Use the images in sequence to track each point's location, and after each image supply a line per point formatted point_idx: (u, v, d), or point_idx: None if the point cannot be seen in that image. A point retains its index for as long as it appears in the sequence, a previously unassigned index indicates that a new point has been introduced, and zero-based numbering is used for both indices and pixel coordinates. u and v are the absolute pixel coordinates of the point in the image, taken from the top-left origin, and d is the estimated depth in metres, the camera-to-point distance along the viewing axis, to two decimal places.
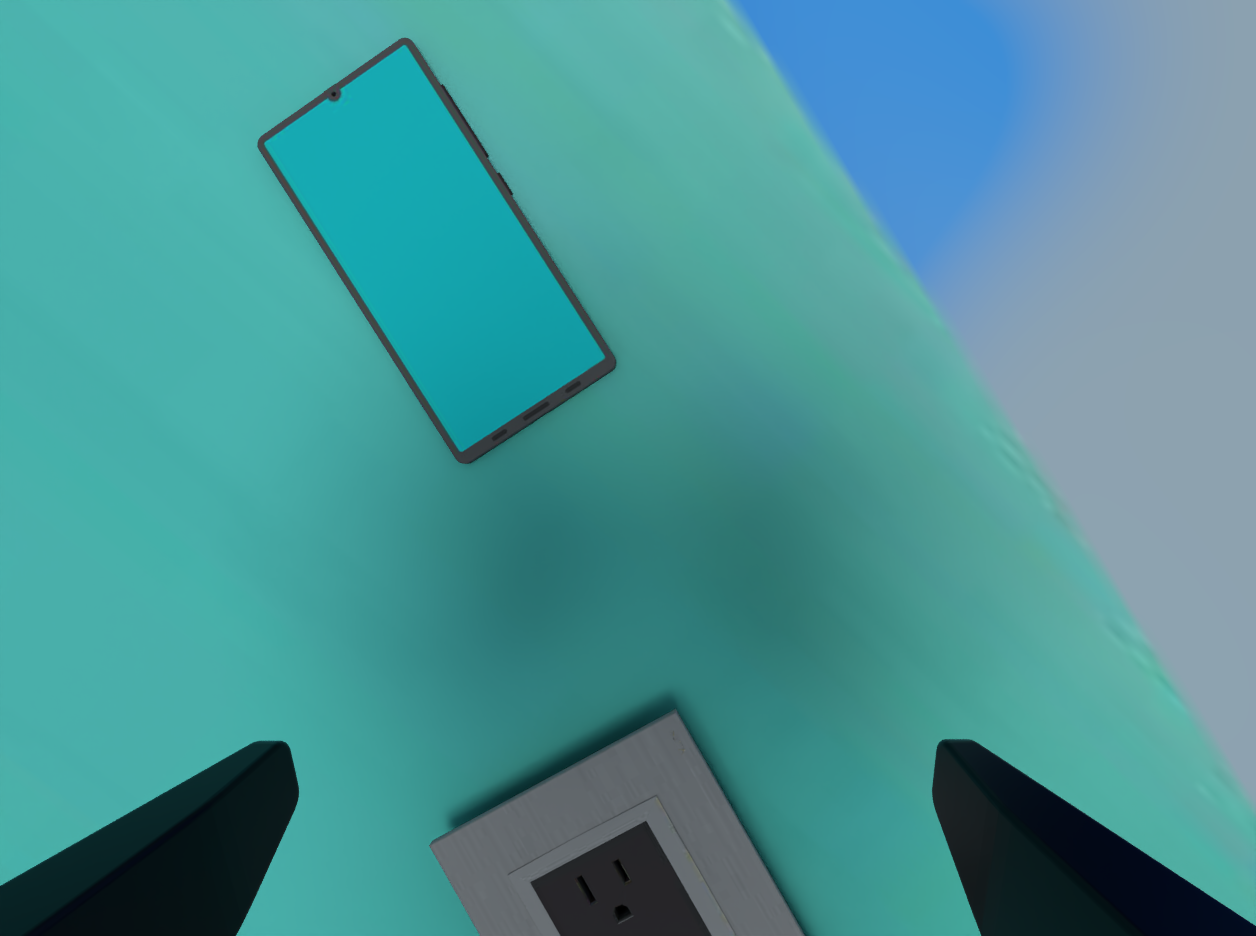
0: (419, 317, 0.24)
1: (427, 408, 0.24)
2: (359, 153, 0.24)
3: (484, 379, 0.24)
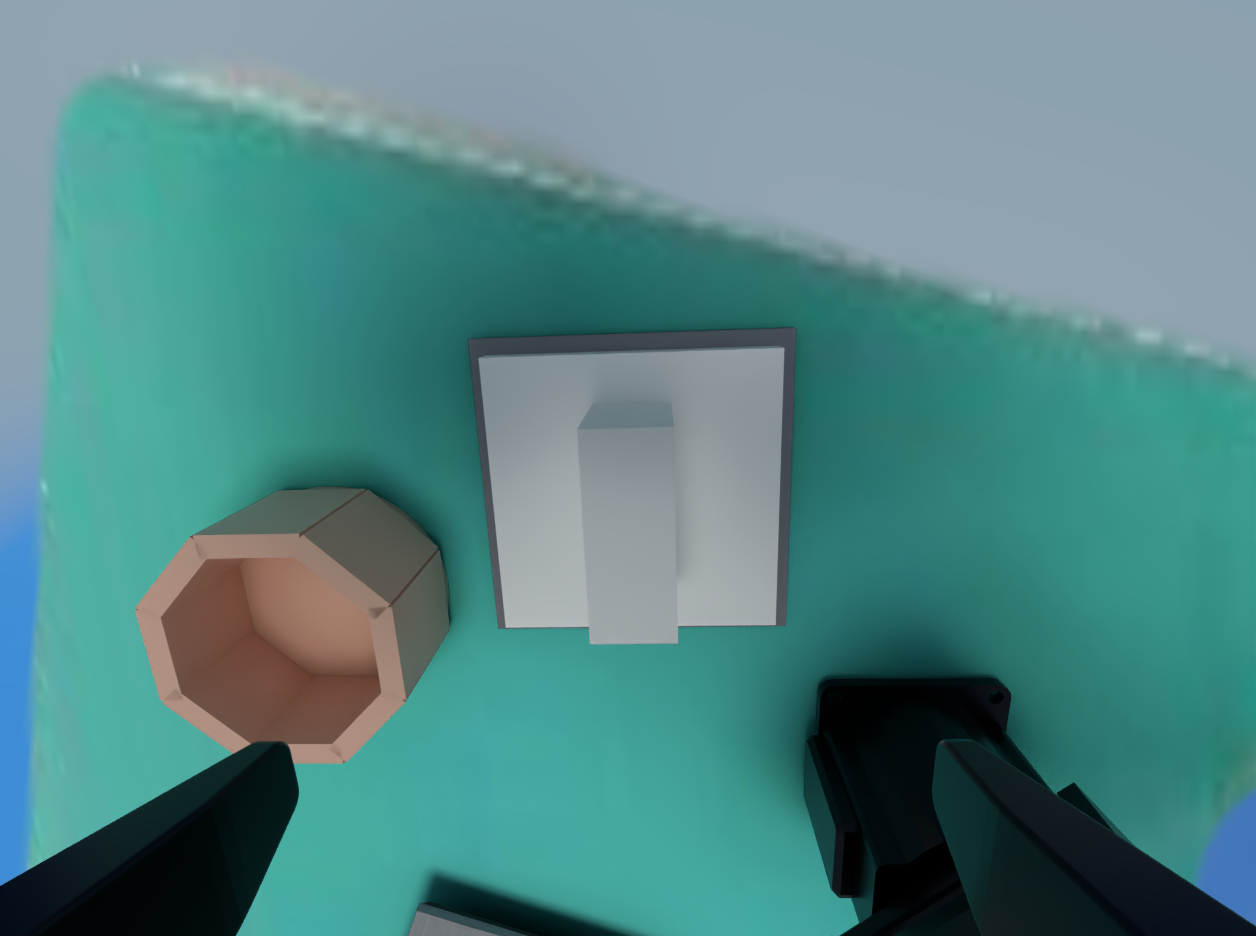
0: None
1: None
2: None
3: None
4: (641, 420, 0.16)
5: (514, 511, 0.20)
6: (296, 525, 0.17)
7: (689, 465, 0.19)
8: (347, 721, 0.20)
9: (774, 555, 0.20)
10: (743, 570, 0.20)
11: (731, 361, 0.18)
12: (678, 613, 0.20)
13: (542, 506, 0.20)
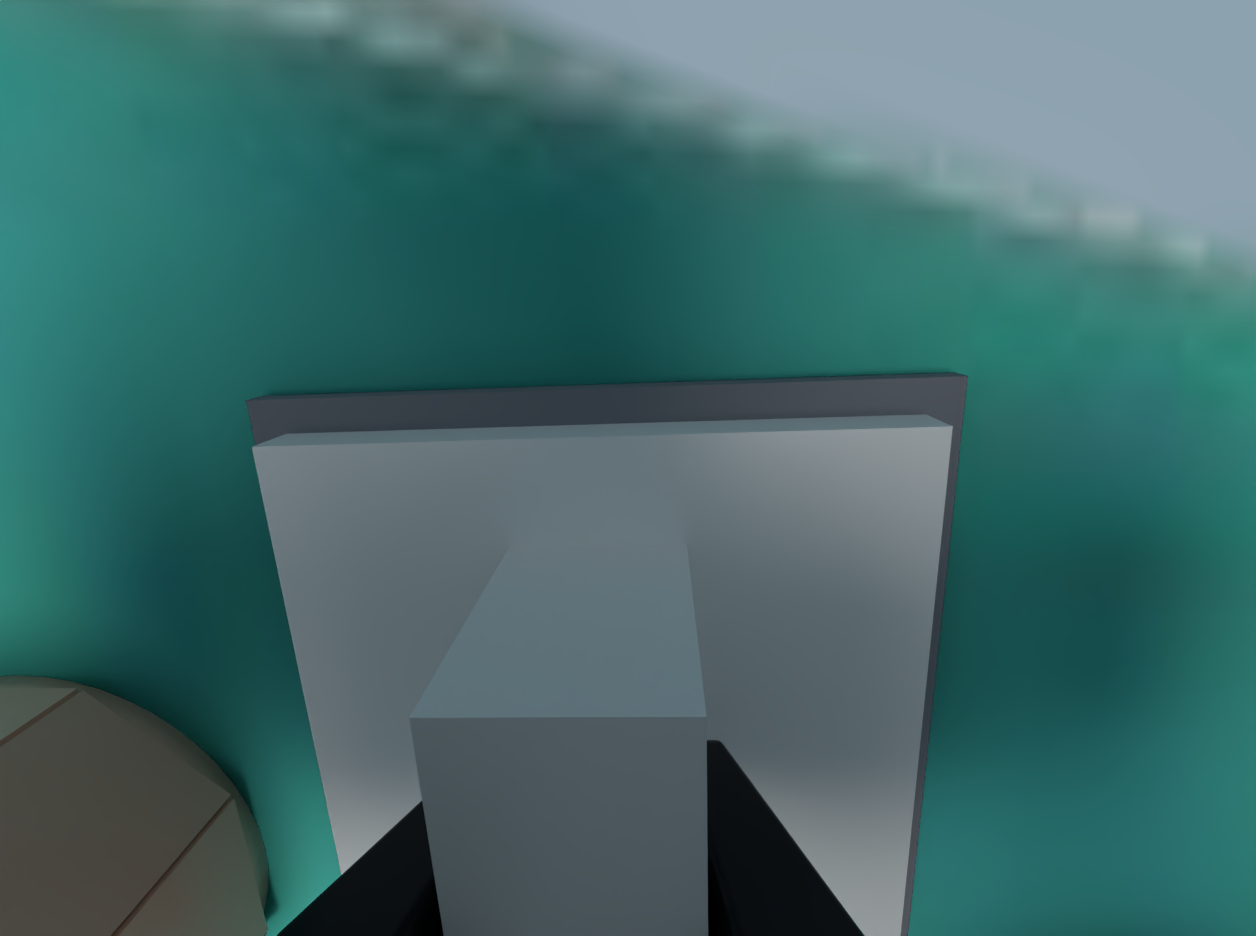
0: None
1: None
2: None
3: None
4: (610, 653, 0.06)
5: (357, 754, 0.09)
6: None
7: (726, 673, 0.09)
8: None
9: (903, 847, 0.09)
10: (835, 871, 0.10)
11: (826, 456, 0.08)
12: None
13: None
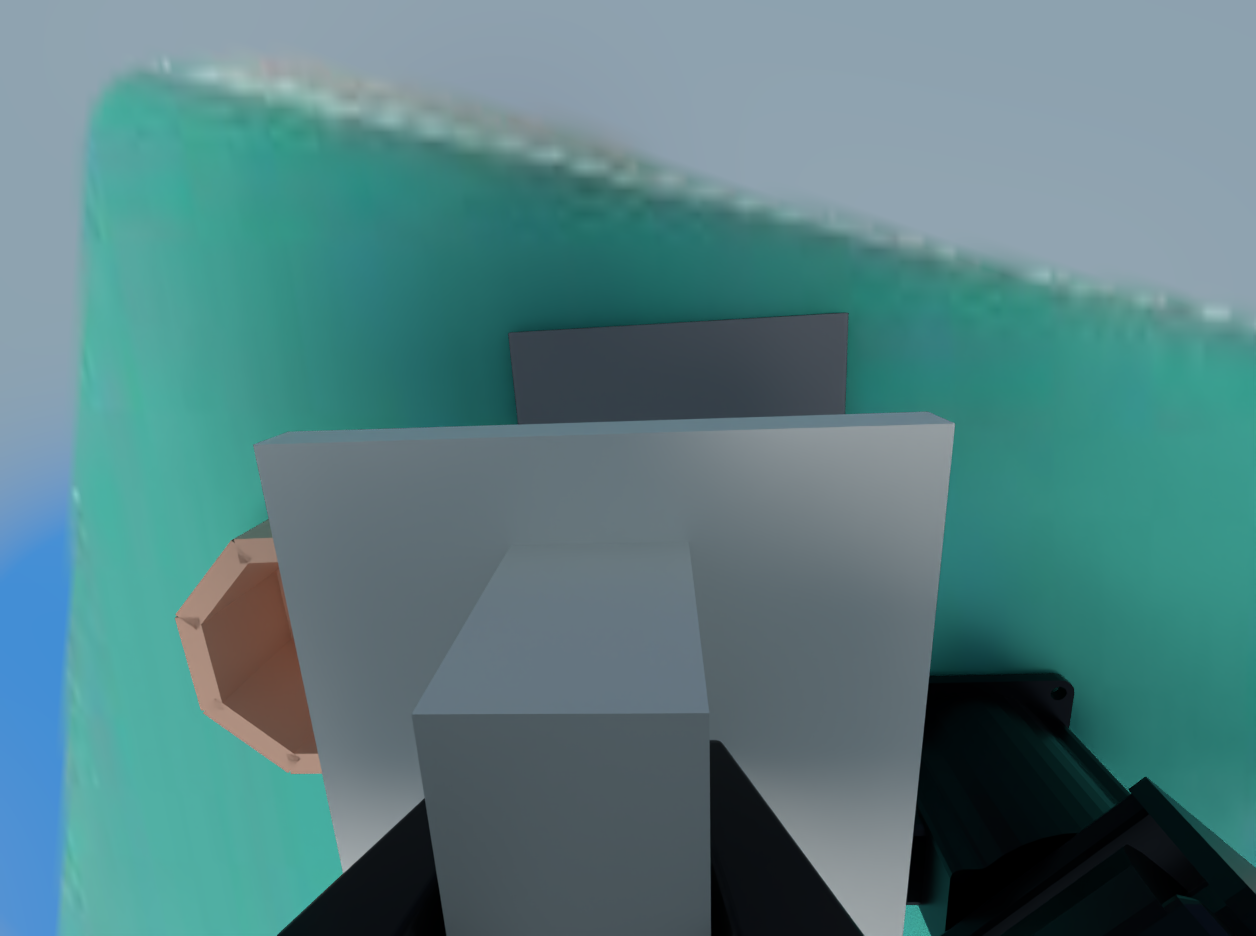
0: None
1: None
2: None
3: None
4: (613, 650, 0.06)
5: (359, 753, 0.09)
6: None
7: (728, 671, 0.09)
8: None
9: (905, 845, 0.09)
10: (837, 870, 0.10)
11: (828, 453, 0.08)
12: None
13: None
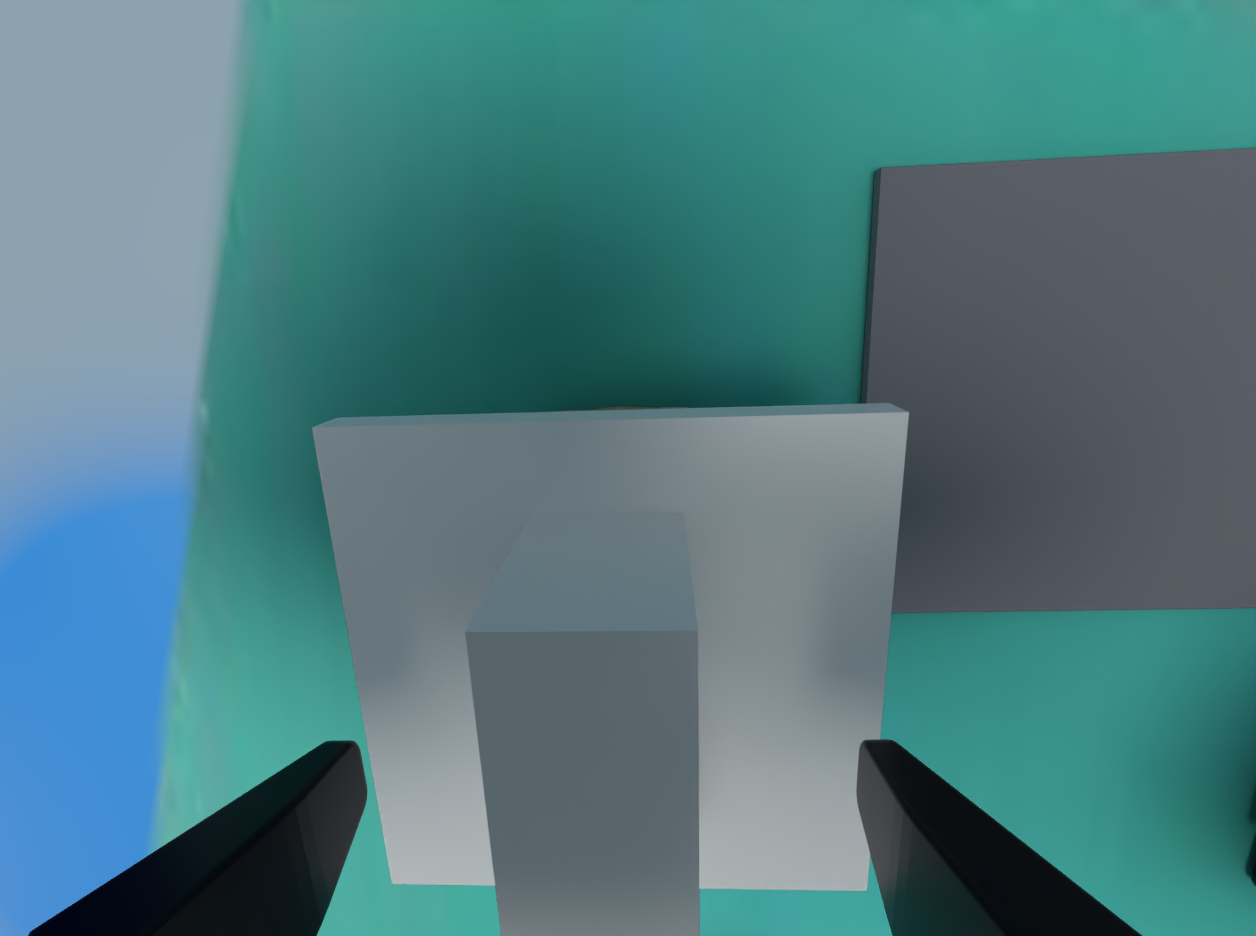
0: None
1: None
2: None
3: None
4: (621, 590, 0.07)
5: (395, 698, 0.11)
6: None
7: (717, 626, 0.10)
8: None
9: None
10: (811, 802, 0.11)
11: (802, 437, 0.09)
12: None
13: (447, 692, 0.11)
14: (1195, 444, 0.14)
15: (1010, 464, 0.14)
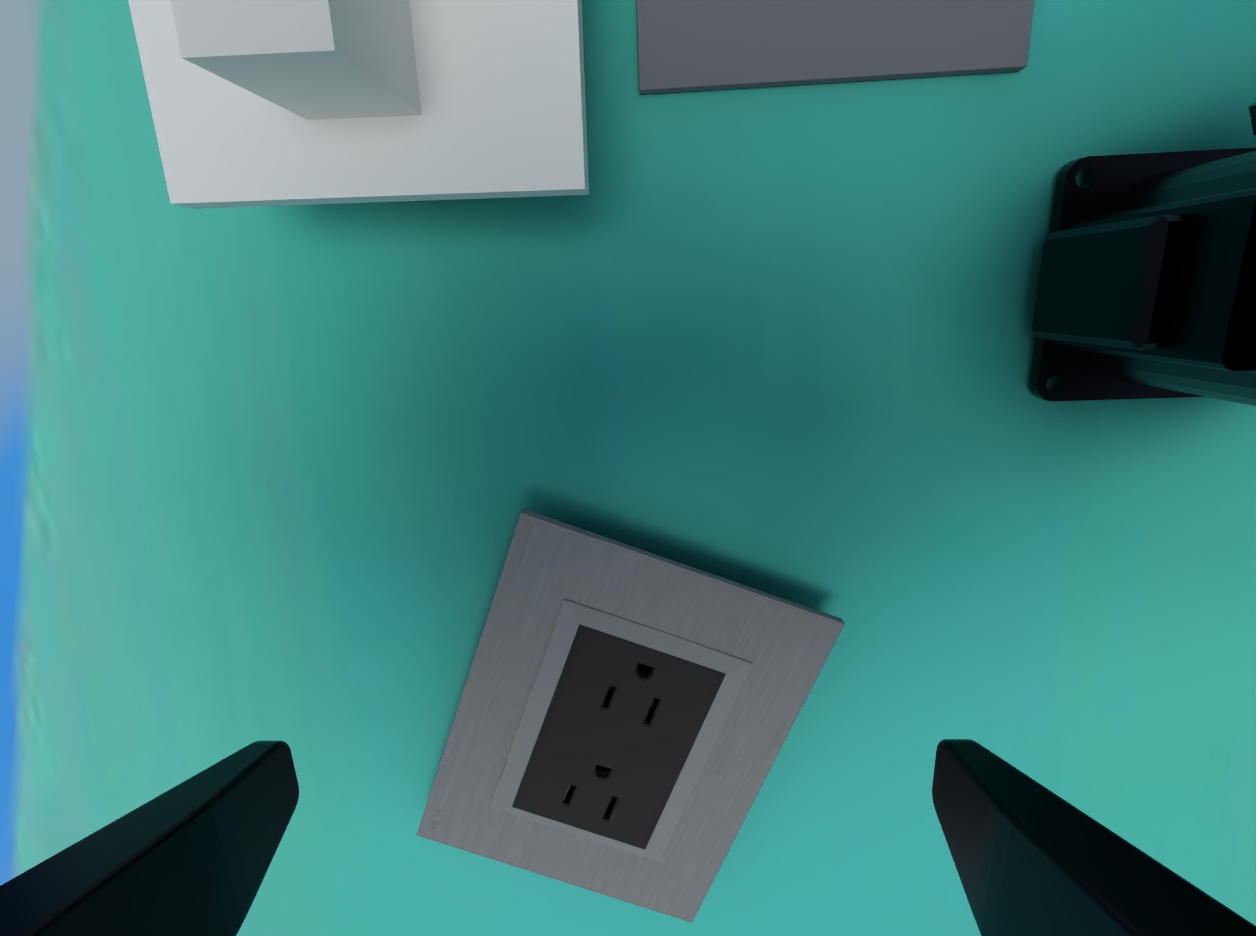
0: None
1: None
2: None
3: None
4: None
5: None
6: None
7: None
8: None
9: (573, 51, 0.12)
10: (526, 83, 0.12)
11: None
12: (432, 170, 0.13)
13: None
14: None
15: None
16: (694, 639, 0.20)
